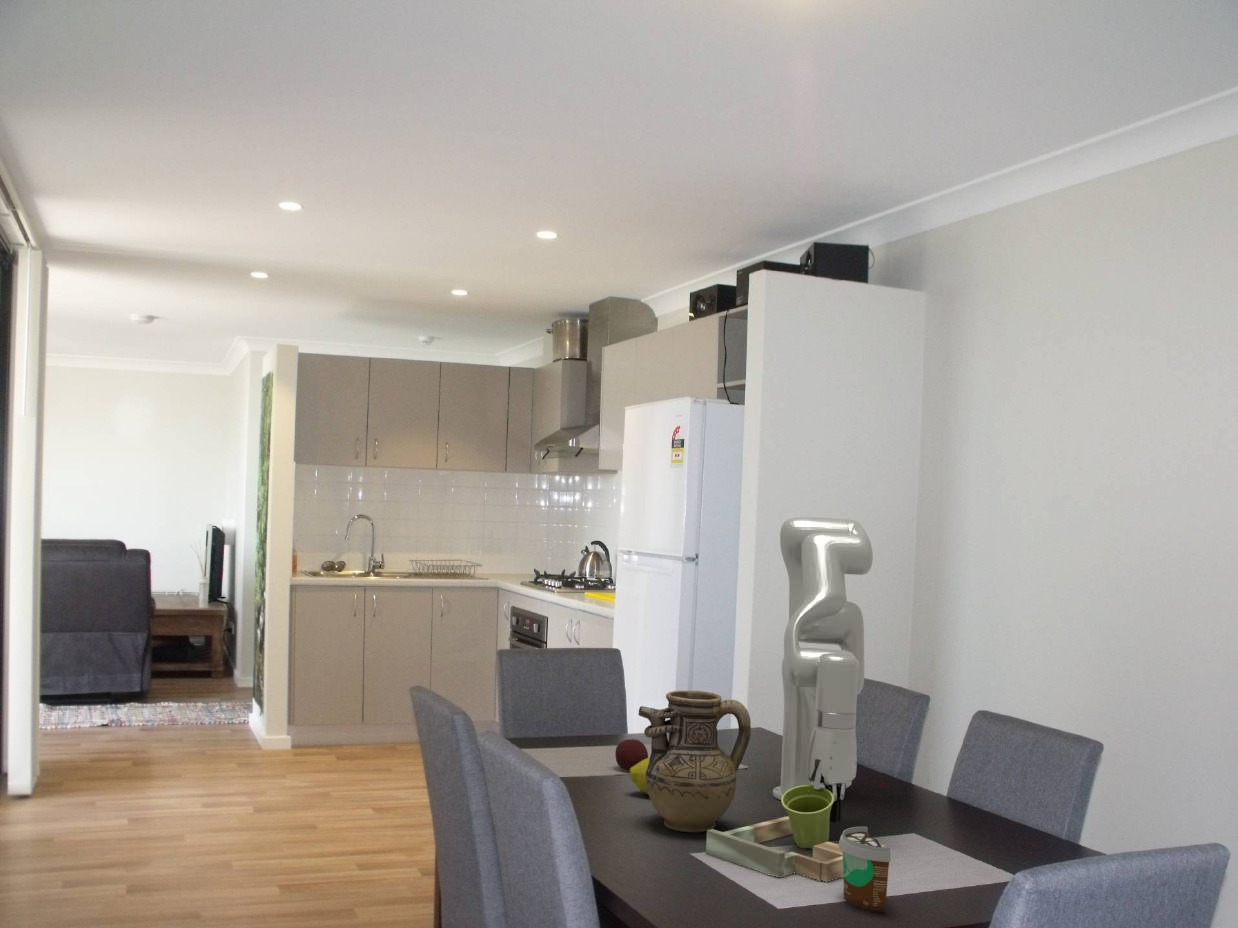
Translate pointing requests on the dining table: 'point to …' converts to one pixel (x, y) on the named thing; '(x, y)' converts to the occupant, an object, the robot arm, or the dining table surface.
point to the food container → (864, 869)
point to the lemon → (640, 775)
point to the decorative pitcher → (693, 759)
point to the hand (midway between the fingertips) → (831, 820)
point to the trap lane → (774, 851)
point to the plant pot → (808, 814)
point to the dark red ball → (630, 753)
